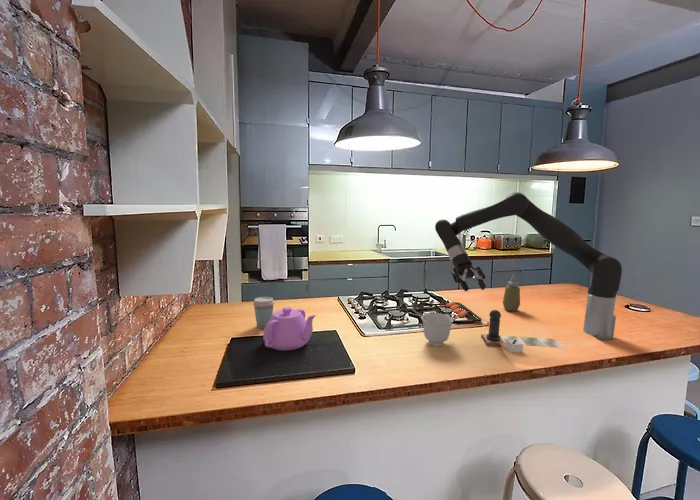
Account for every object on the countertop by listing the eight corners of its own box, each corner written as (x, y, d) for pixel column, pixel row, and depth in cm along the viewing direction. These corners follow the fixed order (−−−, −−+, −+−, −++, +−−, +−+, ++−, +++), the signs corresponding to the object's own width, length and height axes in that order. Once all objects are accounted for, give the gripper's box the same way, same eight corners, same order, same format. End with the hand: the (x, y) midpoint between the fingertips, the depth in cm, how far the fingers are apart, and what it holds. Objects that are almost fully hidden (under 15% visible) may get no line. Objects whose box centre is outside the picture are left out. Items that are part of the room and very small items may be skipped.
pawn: (498, 336, 134) (500, 308, 132) (501, 341, 129) (504, 312, 127) (485, 335, 134) (487, 307, 133) (488, 340, 130) (490, 311, 128)
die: (515, 350, 125) (516, 338, 124) (522, 354, 121) (523, 343, 120) (505, 350, 124) (506, 339, 123) (511, 355, 120) (512, 343, 119)
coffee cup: (278, 326, 143) (278, 299, 142) (260, 332, 137) (260, 303, 136) (267, 321, 149) (266, 295, 148) (249, 326, 143) (249, 299, 141)
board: (555, 341, 133) (555, 338, 133) (566, 351, 124) (567, 348, 124) (481, 336, 137) (481, 333, 136) (487, 346, 128) (487, 342, 128)
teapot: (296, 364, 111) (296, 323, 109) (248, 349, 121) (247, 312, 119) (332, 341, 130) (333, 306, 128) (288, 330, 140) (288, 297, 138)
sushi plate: (484, 325, 152) (484, 316, 151) (417, 325, 150) (418, 317, 149) (459, 305, 180) (459, 298, 180) (403, 305, 179) (403, 298, 178)
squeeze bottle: (503, 306, 178) (506, 272, 176) (520, 309, 173) (524, 275, 171) (500, 310, 172) (503, 275, 169) (517, 313, 167) (521, 277, 164)
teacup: (461, 341, 132) (463, 316, 130) (441, 353, 121) (443, 326, 120) (434, 332, 140) (435, 309, 139) (413, 342, 129) (414, 317, 128)
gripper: (450, 253, 144) (466, 286, 135) (477, 252, 149) (494, 283, 140) (441, 263, 149) (456, 295, 140) (468, 262, 154) (484, 292, 145)
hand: (475, 289), depth 140 cm, fingers open, 8 cm apart
